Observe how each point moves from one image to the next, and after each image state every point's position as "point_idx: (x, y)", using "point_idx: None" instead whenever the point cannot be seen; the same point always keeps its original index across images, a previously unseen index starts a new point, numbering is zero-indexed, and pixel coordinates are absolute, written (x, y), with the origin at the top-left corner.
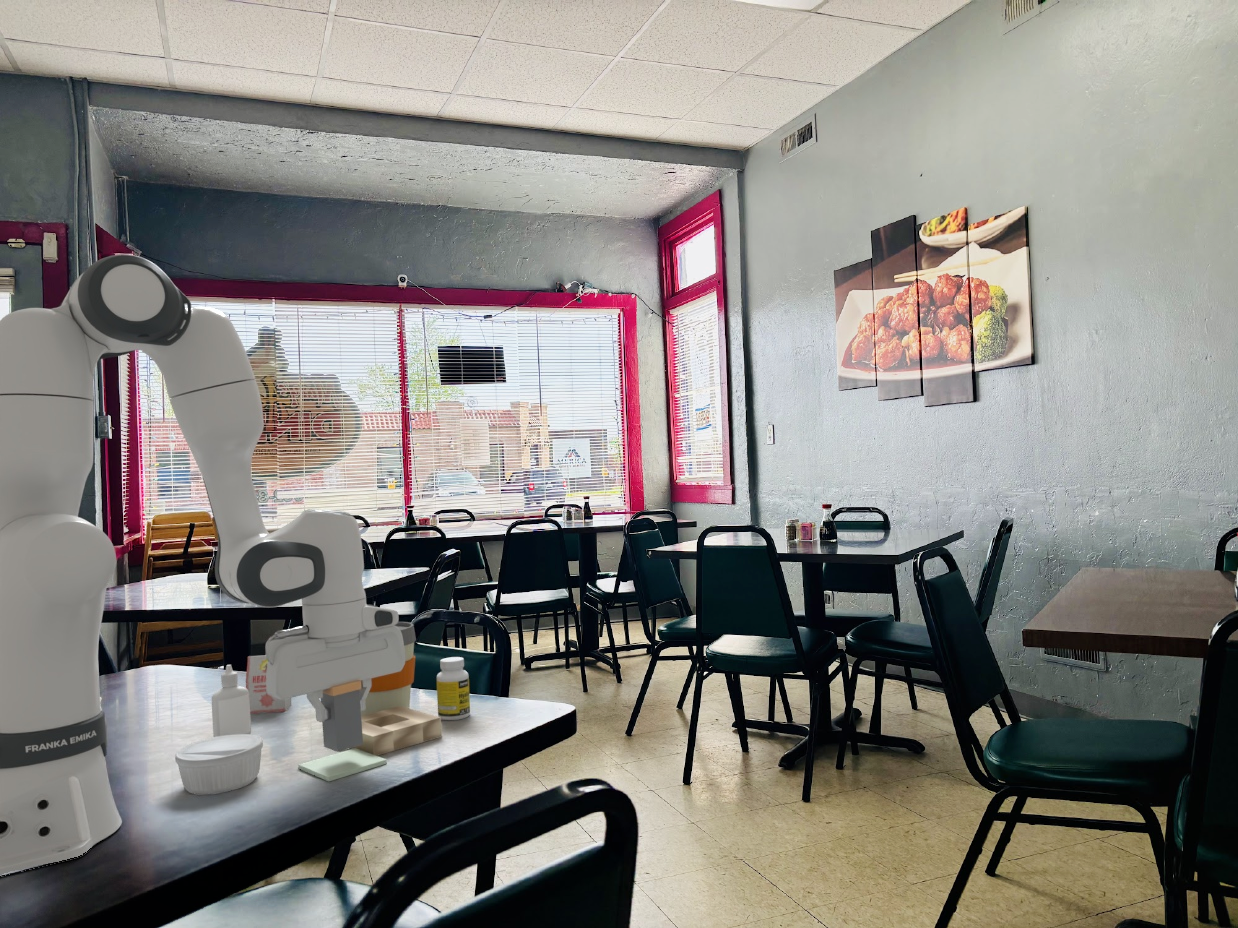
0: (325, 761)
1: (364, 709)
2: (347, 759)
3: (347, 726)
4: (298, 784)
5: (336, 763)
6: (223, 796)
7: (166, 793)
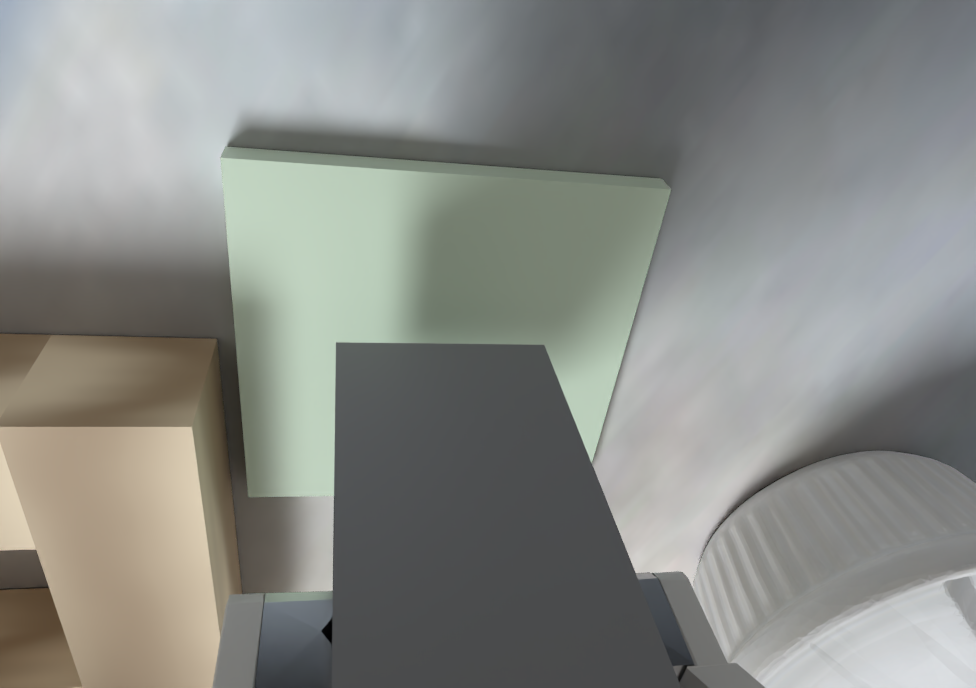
0: None
1: (243, 594)
2: None
3: (483, 456)
4: (751, 284)
5: None
6: (960, 413)
7: None
